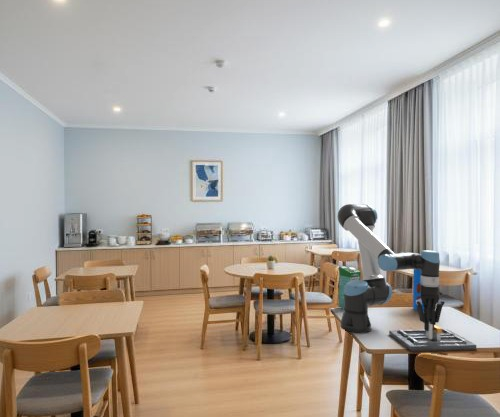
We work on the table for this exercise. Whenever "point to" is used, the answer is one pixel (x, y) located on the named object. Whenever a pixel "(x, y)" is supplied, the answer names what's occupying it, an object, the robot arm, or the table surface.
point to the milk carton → (346, 280)
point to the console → (431, 340)
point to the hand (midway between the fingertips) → (429, 337)
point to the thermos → (416, 288)
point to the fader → (436, 333)
